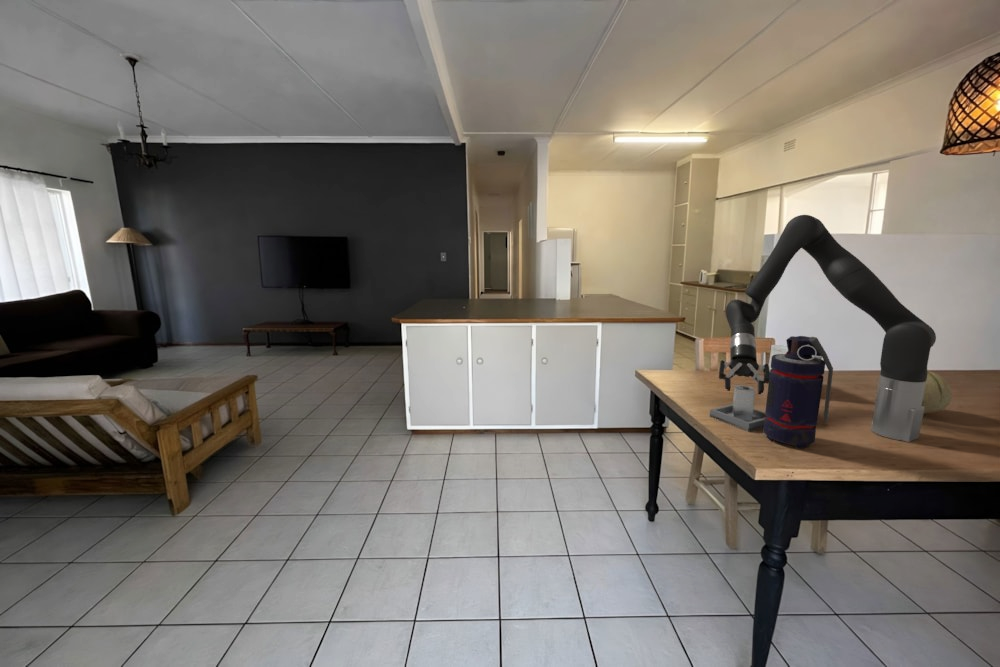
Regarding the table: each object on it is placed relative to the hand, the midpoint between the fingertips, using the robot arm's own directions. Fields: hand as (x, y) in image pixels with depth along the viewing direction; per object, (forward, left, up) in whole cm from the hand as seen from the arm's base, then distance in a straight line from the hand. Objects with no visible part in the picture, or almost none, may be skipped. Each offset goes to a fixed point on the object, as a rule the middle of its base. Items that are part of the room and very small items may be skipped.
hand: (744, 391), depth 125 cm
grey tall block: (0, +1, -9) cm, 9 cm away
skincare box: (+11, -46, -10) cm, 49 cm away
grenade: (-16, +2, -10) cm, 19 cm away
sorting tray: (-1, +1, -9) cm, 9 cm away
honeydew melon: (-22, -56, -10) cm, 61 cm away
